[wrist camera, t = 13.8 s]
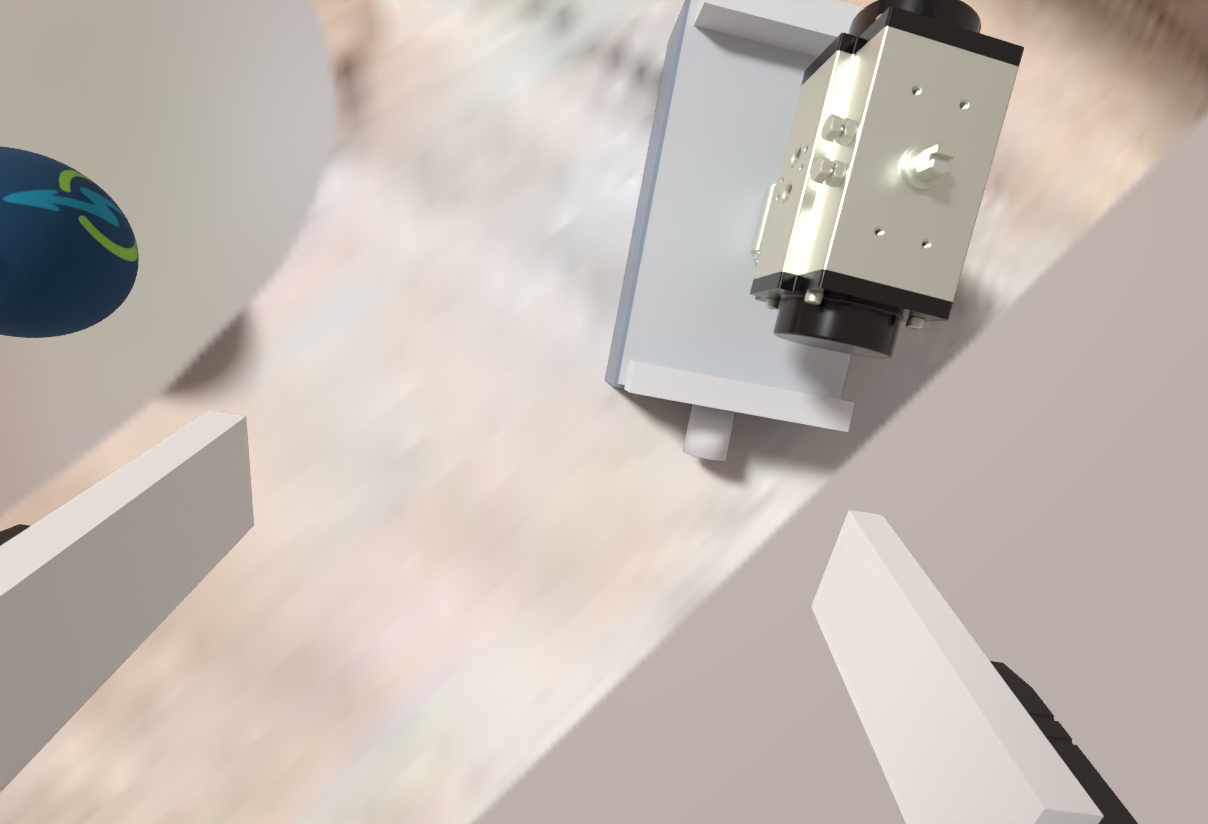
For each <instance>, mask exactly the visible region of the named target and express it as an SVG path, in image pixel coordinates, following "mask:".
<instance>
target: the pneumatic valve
mask: <svg viewBox="0 0 1208 824" xmlns="http://www.w3.org/2000/svg"><path fill="white" fill-rule="evenodd" d="M980 30H981V22H980V18H979V16H978V14H977V13H976V12H975V11H974V10H973V9H972V8H971V7H970V6H969V5H967V4H966V3H964V2H963V1H960V0H878V1H876V2H874V3H872V4H870V5H868V6H866V7H865V8H864V9H862V10H861V11H860V12H859V13H858V14H857V15H856V17H855V18H854V19H853V21H852V23H851V25H850V29H849V33H848V34H847V33H841V34H840V35H839V36H838V37H837V38H836V39H835V40H834V41H833V42H832V43H831V44H830V45H829V46H828V47H827V48H826V49H825V50H824V51H823V52H822V53H821V54H820V55H819V56H818V57H817V59H816V60H815V61H814V62H813V63H812V64H811V65H810V66H809V67H808V68H807V69H806V70H805V72H804V76H803V80H802V84H801V88H800V92H799V96H798V100H797V104H796V108H795V112H794V117H793V121H792V125H791V129H790V133H789V137H788V141H787V145H786V149H785V153H784V157H783V161H782V165H781V169H780V173H779V177H778V180H773V181H772V183H771V185H769V186H767V187H766V190H765V194H764V198H763V202H762V206H761V211H760V215H759V219H758V223H757V227H756V231H755V235H754V239H753V243H752V247H751V252H752V253H753V254H754V256H753V260H754V261H755V263H756V264H757V267H756V271H755V275H754V279H753V283H752V287H751V291H750V295H754V296H756V297H755V300H758V301H762V302H766V304H765V307H766V308H768V309H773V310H778V309H779V311H778V315H777V319H776V323H775V327H774V331H773V333H774V335H775V336H777V337H779V338H782V339H785V340H788V341H792V342H795V343H799V344H803V345H807V346H811V347H816V348H820V349H825V350H830V351H835V352H840V353H846V354H852V355H858V356H865V357H874V358H890V357H891V356H892V354H893V350H894V346H895V343H896V339H897V335H898V332H899V328H900V324H901V322H907V323H906V327H908V328H911V329H917V330H922V329H923V327H924V324H925V321H941V320H948V319H949V315H950V311H951V308H952V304H953V301H954V297H955V294H956V290H957V286H958V283H959V279H960V276H961V272H962V268H963V265H964V261H965V258H966V254H967V251H968V247H969V243H970V240H971V236H972V233H973V229H974V226H975V222H976V218H977V215H978V211H979V208H980V204H981V201H982V197H983V193H984V190H985V186H986V183H987V179H988V175H989V172H990V168H991V165H992V161H993V158H994V154H995V150H996V147H997V143H998V140H999V136H1000V133H1001V129H1002V125H1003V122H1004V118H1005V115H1006V111H1007V108H1008V104H1009V100H1010V97H1011V93H1012V90H1013V86H1014V82H1015V79H1016V75H1017V72H1018V68H1019V65H1020V61H1021V57H1022V54H1023V50H1024V47H1022V46H1018V45H1015V44H1012V43H1009V42H1006V41H1002V40H999V39H996V38H993V37H990V36H987V35H983V34H980ZM779 306H780V307H779Z"/></svg>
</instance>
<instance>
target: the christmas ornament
mask: <svg viewBox="0 0 1208 824" xmlns="http://www.w3.org/2000/svg"><path fill="white" fill-rule="evenodd" d="M137 270H138V248H137V244H136V239H135V236H134V234H133V231H132V229H131V227H130V224H129V222H128V220H127V218H126V217H125V215H124V214H123V212H122V211H121V209H120V208H119V207H118V205H117V204H116V203H115V202H114V201H113V199H112V198H111V197H110V196H109V195H108V194H107V193H106V192H105V191H104V190H103V189H101V188H100V187H99V186H98V185H97V184H95V183H94V182H93V181H91V180H90V179H89V178H87V177H86V176H84V175H83V174H81V173H80V172H78V171H76V170H75V169H73V168H71V167H69V166H67V165H65V164H63V163H60V162H58V161H56V160H54V159H51V158H49V157H46V156H43V155H40V154H37V153H33V152H29V151H25V150H20V149H15V148H8V147H0V334H1V335H7V336H14V337H26V338H42V337H53V336H60V335H66V334H70V333H74V332H77V331H80V330H83V329H86V328H88V327H90V326H92V325H94V324H96V323H98V322H100V321H102V320H103V319H105V318H106V317H108V316H109V315H110V314H111V313H113V312H114V311H115V310H116V309H117V308H118V307H119V306H120V305H121V304H122V303H123V302H124V300H125V299H126V298H127V296H128V294H129V293H130V291H131V289H132V287H133V285H134V282H135V279H136V275H137Z"/></svg>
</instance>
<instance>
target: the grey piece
mask: <svg viewBox="0 0 1208 824" xmlns="http://www.w3.org/2000/svg"><path fill="white" fill-rule="evenodd" d="M864 8H865V7H861V6H857V5H853V4H850V3H846V2H842V1H838V0H685V2H684V5H683V7H682V10H681V12H680V15H679V17H678V19H677V22H676V24H675V27H674V29H673V32H672V34H671V37H670V39H669V42H668V47H667V52H666V58H665V63H664V68H663V74H662V79H661V84H660V89H659V95H658V100H657V105H656V111H655V116H654V121H653V127H652V132H651V137H650V143H649V148H648V153H647V159H646V164H645V169H644V175H643V180H642V185H641V191H640V196H639V201H638V207H637V212H636V217H635V223H634V228H633V233H632V239H631V244H630V249H629V255H628V260H627V265H626V271H625V276H624V281H623V287H622V292H621V297H620V303H619V308H618V313H617V319H616V324H615V329H614V335H613V340H612V345H611V351H610V356H609V361H608V367H607V372H606V377H605V381H606V382H608V383H609V384H610V385H612V386H613V387H619V388H624V389H625V390H626V391H628V392H629V393H634V394H640V395H645V396H651V397H656V398H662V399H667V400H673V401H678V402H684V403H689V404H692V408H691V413H690V418H689V423H688V428H687V433H686V438H685V443H684V448H683V452H684V453H686V454H689V455H692V456H696V457H700V458H704V459H709V460H716V461H725V460H726V455H727V450H728V445H729V441H730V436H731V431H732V426H733V422H734V417H735V412H739V413H745V414H750V415H756V416H761V417H767V418H772V419H778V420H783V421H789V422H794V423H800V424H805V425H811V426H816V427H822V428H827V429H833V430H838V431H844V432H848V431H849V427H850V423H851V418H852V414H853V410H854V405H855V402H851V401H847V400H842V399H841V398H842V394H843V389H844V385H845V381H846V376H847V372H848V367H849V363H850V359H851V354H846V353H840V352H835V351H830V350H825V349H820V348H816V347H811V346H807V345H803V344H799V343H795V342H792V341H788V340H785V339H782V338H779V337H777V336H775V335H774V333H773V331H774V327H775V323H776V319H777V315H778V311H779V309H778V310H773V309H768V308H766V307H765V304H766V302H762V301H758V300H755V297H756V296H754V295H750V291H751V287H752V283H753V279H754V275H755V271H756V267H757V264H756V263H755V261H754V260H753V256H754V254H753V253H752V252H751V247H752V243H753V239H754V235H755V231H756V227H757V223H758V219H759V215H760V211H761V206H762V202H763V198H764V194H765V190H766V187H767V186H769V185H771V183H772V181H773V180H778V177H779V173H780V169H781V165H782V161H783V157H784V153H785V149H786V145H787V141H788V137H789V133H790V129H791V125H792V121H793V117H794V112H795V108H796V104H797V100H798V96H799V92H800V88H801V84H802V80H803V76H804V72H805V70H806V69H807V68H808V67H809V66H810V65H811V64H812V63H813V62H814V61H815V60H816V59H817V57H818V56H819V55H820V54H821V53H822V52H823V51H824V50H825V49H826V48H827V47H828V46H829V45H830V44H831V43H832V42H833V41H834V40H835V39H836V38H837V37H838V36H839V35H840V34H841V33H847V34H848V33H849V29H850V25H851V23H852V21H853V19H854V18H855V17H856V15H857V14H858V13H859V12H860V11H861V10H862V9H864ZM779 307H780V306H779Z"/></svg>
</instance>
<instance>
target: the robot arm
mask: <svg viewBox="0 0 1208 824" xmlns="http://www.w3.org/2000/svg"><path fill="white" fill-rule="evenodd" d="M253 526H254V518H253V504H252V490H251V476H250V462H249V448H248V434H247V420H246V416H242V415H235V414H229V413H223V412H216V411H210V410H209V411H207V412H206V413H204V414H203V415H201V416H199V417H198V418H196V419H195V420H193V421H192V422H190V423H189V424H187V425H186V426H184V427H183V428H181V429H179V430H178V431H176V432H175V433H173V434H172V435H170V436H169V437H167V438H166V439H164V440H163V441H161V442H159V443H158V444H156V445H155V446H153V447H152V448H150V449H149V450H147V451H146V452H144V453H143V454H141V455H139V456H138V457H136V458H135V459H133V460H132V461H130V462H129V463H127V464H126V465H124V466H123V467H121V468H119V469H118V470H116V471H115V472H113V473H112V474H110V475H109V476H107V477H106V478H104V479H103V480H101V481H99V482H98V483H96V484H95V485H93V486H92V487H90V488H89V489H87V490H86V491H84V492H83V493H81V494H79V495H78V496H76V497H75V498H73V499H72V500H70V501H69V502H67V503H66V504H64V505H63V506H61V507H59V508H58V509H56V510H55V511H53V512H52V513H50V514H49V515H47V516H46V517H44V518H43V519H41V520H39V521H38V522H36V523H35V524H33V525H32V526H28V525H21V524H19V525H16V526H14V527H11V528H9V529H6V530H4V531H1V532H0V792H1V791H2V790H3V789H4V788H5V787H6V786H7V785H8V784H9V783H10V782H11V781H12V780H13V779H14V778H15V776H16V775H17V774H18V773H19V772H20V771H21V770H22V769H23V768H24V767H25V766H26V765H27V764H28V763H29V762H30V761H31V760H32V759H33V758H34V756H35V755H36V754H37V753H38V752H39V751H40V750H41V749H42V748H43V747H44V746H45V745H46V744H47V743H48V742H49V741H50V740H51V739H52V738H53V736H54V735H55V734H56V733H57V732H58V731H59V730H60V729H61V728H62V727H63V726H64V725H65V724H66V723H67V722H68V721H69V720H70V719H71V717H72V716H73V715H74V714H75V713H76V712H77V711H78V710H79V709H80V708H81V707H82V706H83V705H84V704H85V703H86V702H87V701H88V700H89V699H90V697H91V696H92V695H93V694H94V693H95V692H96V691H97V690H98V689H99V688H100V687H101V686H102V685H103V684H104V683H105V682H106V681H107V680H108V679H109V677H110V676H111V675H112V674H113V673H114V672H115V671H116V670H117V669H118V668H119V667H120V666H121V665H122V664H123V663H124V662H125V661H126V660H127V659H128V657H129V656H130V655H131V654H132V653H133V652H134V651H135V650H136V649H137V648H138V647H139V646H140V645H141V644H142V643H143V642H144V641H145V640H146V639H147V637H148V636H149V635H150V634H151V633H152V632H153V631H154V630H155V629H156V628H157V627H158V626H159V625H160V624H161V623H162V622H163V621H164V620H165V619H166V617H167V616H168V615H169V614H170V613H171V612H172V611H173V610H174V609H175V608H176V607H177V606H178V605H179V604H180V603H181V602H182V601H183V600H184V599H185V597H186V596H187V595H188V594H189V593H190V592H191V591H192V590H193V589H194V588H195V587H196V586H197V585H198V584H199V583H200V582H201V581H202V580H203V578H204V577H205V576H206V575H207V574H208V573H209V572H210V571H211V570H212V569H213V568H214V567H215V566H216V565H217V564H218V563H219V562H220V561H221V560H222V558H223V557H224V556H225V555H226V554H227V553H228V552H229V551H230V550H231V549H232V548H233V547H234V546H235V545H236V544H237V543H238V542H239V541H240V540H241V538H242V537H243V536H244V535H245V534H246V533H247V532H248V531H249V530H250V529H251V528H252V527H253ZM811 607H812V609H813V611H814V613H815V616H816V618H817V621H818V623H819V625H820V628H821V630H822V632H823V634H824V637H825V639H826V641H827V644H828V646H829V648H830V651H831V653H832V655H833V657H834V660H835V662H836V664H837V666H838V669H839V671H840V673H841V676H842V678H843V680H844V683H845V685H846V687H847V690H848V692H849V694H850V696H851V699H852V701H853V703H854V706H855V708H856V710H857V712H858V715H859V717H860V719H861V722H862V724H863V726H864V729H865V731H866V733H867V735H868V738H869V740H870V742H871V745H872V747H873V749H874V752H875V754H876V756H877V758H878V761H879V763H880V765H881V768H882V770H883V772H884V775H885V777H886V779H887V781H888V784H889V786H890V788H891V790H892V793H893V795H894V797H895V800H896V802H897V804H898V807H899V809H900V811H901V814H902V816H903V818H904V820H905V823H906V824H1138V823H1137V822H1136V820H1135V819H1134V818H1133V817H1132V815H1131V814H1130V813H1129V812H1128V810H1127V809H1126V808H1125V806H1124V805H1123V804H1122V803H1121V801H1120V800H1119V799H1118V798H1117V796H1116V795H1115V794H1114V792H1113V791H1112V790H1111V788H1110V787H1109V786H1108V785H1107V783H1106V782H1105V781H1104V780H1103V778H1102V777H1101V776H1100V774H1099V773H1098V772H1097V770H1096V769H1095V768H1094V767H1093V765H1092V764H1091V763H1090V761H1089V760H1088V759H1087V758H1086V756H1085V755H1084V754H1083V753H1082V751H1081V750H1080V749H1079V747H1078V746H1077V745H1073V744H1072V739H1071V737H1070V736H1069V735H1068V733H1067V732H1066V731H1065V729H1064V728H1063V727H1062V726H1061V724H1060V723H1059V722H1058V721H1054V715H1053V714H1052V713H1051V711H1050V710H1049V709H1048V708H1047V706H1046V705H1045V704H1044V703H1043V701H1042V700H1041V699H1040V697H1039V696H1038V695H1037V693H1036V692H1035V691H1034V690H1033V688H1032V687H1030V686H1029V685H1028V684H1027V683H1026V682H1025V681H1023V680H1022V679H1021V678H1020V677H1019V676H1018V675H1016V674H1015V673H1014V672H1013V671H1012V670H1010V669H1009V668H1008V667H1007V666H1006V665H1005V664H1004V663H999V662H993V661H989V660H988V658H987V657H986V655H985V654H984V653H983V651H982V650H981V649H980V647H979V646H978V645H977V643H976V642H975V640H974V639H973V638H972V636H971V635H970V634H969V632H968V631H967V630H966V628H965V627H964V626H963V624H962V623H961V622H960V620H959V619H958V617H957V616H956V615H955V613H954V612H953V611H952V609H951V608H950V607H949V605H948V604H947V603H946V601H945V600H944V598H943V597H942V596H941V595H940V593H939V592H938V590H937V589H936V588H935V586H934V585H933V584H932V582H931V581H930V579H929V578H928V577H927V575H926V574H925V573H924V571H923V570H922V569H921V567H920V566H919V565H918V563H917V562H916V560H915V559H914V558H913V556H912V555H911V554H910V552H909V551H908V550H907V548H906V547H905V546H904V544H903V543H902V541H901V540H900V539H899V537H898V536H897V535H896V533H895V532H894V531H893V529H892V528H891V527H890V525H889V524H888V522H887V521H886V520H885V518H884V517H883V516H882V515H877V514H871V513H865V512H858V511H851V510H849V511H848V514H847V517H846V519H845V522H844V524H843V527H842V530H841V532H840V534H839V537H838V540H837V542H836V545H835V547H834V550H833V552H832V555H831V558H830V560H829V563H828V565H827V568H826V571H825V573H824V576H823V578H822V581H821V583H820V586H819V588H818V591H817V594H816V596H815V599H814V601H813V604H812V606H811Z"/></svg>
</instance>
